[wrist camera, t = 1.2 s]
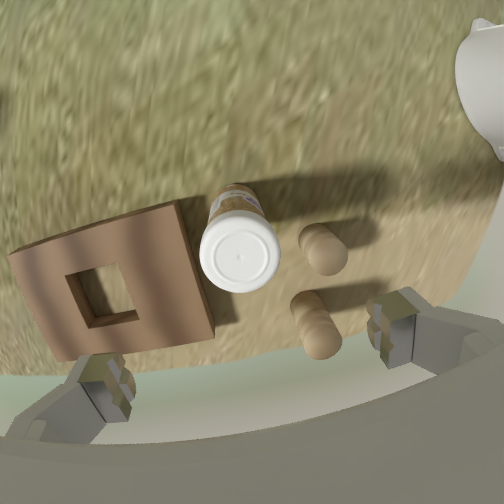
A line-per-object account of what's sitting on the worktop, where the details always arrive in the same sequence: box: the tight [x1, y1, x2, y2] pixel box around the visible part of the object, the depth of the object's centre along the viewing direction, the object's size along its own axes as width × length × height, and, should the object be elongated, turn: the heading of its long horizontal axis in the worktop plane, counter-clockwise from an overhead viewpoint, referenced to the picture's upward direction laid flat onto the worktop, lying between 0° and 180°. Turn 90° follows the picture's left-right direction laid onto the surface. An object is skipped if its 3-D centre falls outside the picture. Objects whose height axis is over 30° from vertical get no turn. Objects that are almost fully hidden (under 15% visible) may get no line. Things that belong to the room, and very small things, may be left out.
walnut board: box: [7, 199, 215, 362], centre depth 31 cm, size 20×14×2 cm
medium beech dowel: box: [290, 291, 342, 360], centre depth 31 cm, size 3×3×8 cm
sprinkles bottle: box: [200, 184, 281, 293], centre depth 24 cm, size 5×5×13 cm
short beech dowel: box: [298, 223, 348, 276], centre depth 30 cm, size 3×3×5 cm
